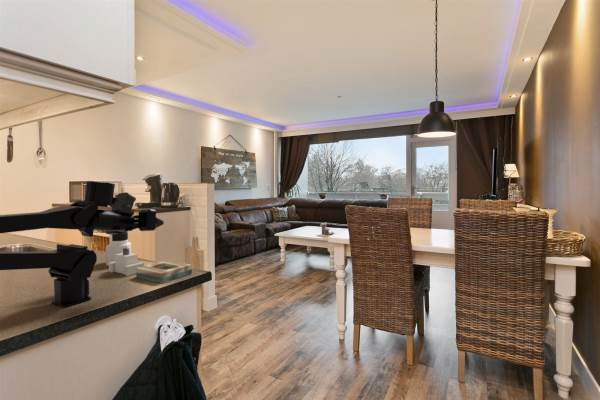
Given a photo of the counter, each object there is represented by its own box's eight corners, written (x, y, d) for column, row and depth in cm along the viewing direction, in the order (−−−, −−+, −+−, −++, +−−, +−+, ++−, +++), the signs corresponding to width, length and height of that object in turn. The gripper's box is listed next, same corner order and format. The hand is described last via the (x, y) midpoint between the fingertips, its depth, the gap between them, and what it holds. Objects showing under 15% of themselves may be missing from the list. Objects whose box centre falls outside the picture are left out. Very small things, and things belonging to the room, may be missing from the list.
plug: (126, 274, 107) (126, 250, 106) (115, 271, 110) (114, 248, 109) (137, 271, 110) (137, 248, 110) (126, 269, 113) (125, 246, 113)
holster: (127, 275, 105) (127, 266, 105) (108, 271, 110) (108, 262, 109) (143, 271, 110) (143, 262, 110) (125, 267, 115) (125, 259, 115)
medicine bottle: (131, 260, 126) (131, 229, 125) (127, 264, 119) (127, 232, 118) (110, 261, 124) (110, 229, 123) (105, 265, 117) (105, 232, 116)
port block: (162, 283, 98) (162, 273, 98) (136, 277, 104) (136, 268, 104) (191, 273, 109) (191, 264, 109) (166, 268, 115) (166, 260, 114)
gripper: (132, 188, 89) (175, 196, 103) (87, 195, 96) (132, 202, 110) (130, 228, 87) (174, 231, 101) (84, 233, 94) (131, 235, 108)
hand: (152, 223), depth 105 cm, fingers open, 9 cm apart
